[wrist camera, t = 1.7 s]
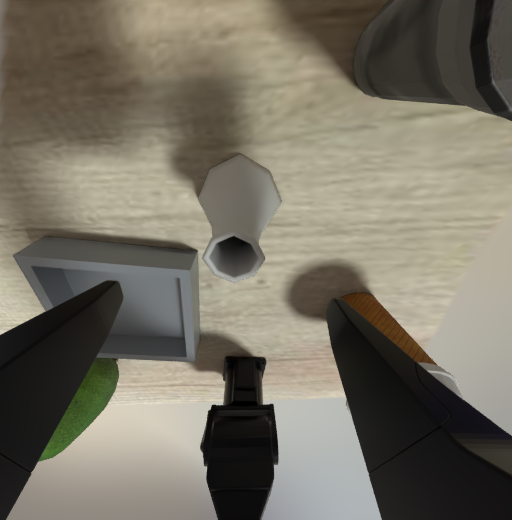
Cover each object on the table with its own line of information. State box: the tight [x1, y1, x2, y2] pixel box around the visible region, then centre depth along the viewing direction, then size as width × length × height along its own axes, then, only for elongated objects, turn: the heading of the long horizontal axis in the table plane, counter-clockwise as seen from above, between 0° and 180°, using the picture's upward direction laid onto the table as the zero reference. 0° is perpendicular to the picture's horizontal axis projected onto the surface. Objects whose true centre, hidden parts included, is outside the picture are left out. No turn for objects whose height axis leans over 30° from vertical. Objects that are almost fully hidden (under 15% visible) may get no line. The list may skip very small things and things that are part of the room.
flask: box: [198, 154, 282, 283], centre depth 16 cm, size 7×7×10 cm
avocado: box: [38, 357, 119, 462], centre depth 28 cm, size 8×8×12 cm
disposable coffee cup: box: [342, 293, 463, 414], centre depth 23 cm, size 10×10×12 cm
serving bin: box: [13, 236, 200, 362], centre depth 25 cm, size 15×15×4 cm
